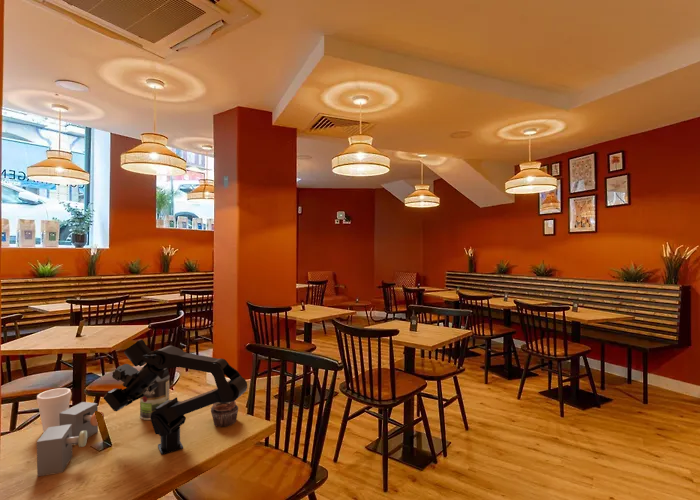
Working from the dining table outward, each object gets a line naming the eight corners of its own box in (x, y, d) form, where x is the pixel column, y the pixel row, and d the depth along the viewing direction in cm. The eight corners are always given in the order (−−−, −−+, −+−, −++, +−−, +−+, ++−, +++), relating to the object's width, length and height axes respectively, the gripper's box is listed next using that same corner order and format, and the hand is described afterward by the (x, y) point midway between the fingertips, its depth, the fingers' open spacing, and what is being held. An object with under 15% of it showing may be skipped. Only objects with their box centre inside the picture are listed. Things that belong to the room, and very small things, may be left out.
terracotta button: (104, 422, 135) (103, 409, 135) (93, 428, 131) (93, 415, 131) (88, 420, 136) (88, 408, 136) (77, 426, 132) (77, 413, 132)
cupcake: (239, 425, 144) (239, 398, 143) (211, 430, 140) (211, 402, 140) (237, 414, 153) (237, 388, 152) (210, 418, 149) (210, 392, 149)
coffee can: (156, 422, 146) (155, 384, 146) (133, 418, 149) (133, 380, 149) (176, 410, 156) (175, 374, 155) (154, 406, 159) (154, 371, 158)
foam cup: (44, 439, 133) (43, 400, 133) (32, 431, 138) (32, 394, 138) (76, 427, 141) (75, 391, 141) (64, 421, 146) (63, 386, 146)
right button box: (97, 431, 139) (97, 403, 138) (75, 445, 130) (75, 414, 129) (82, 430, 140) (82, 401, 139) (59, 443, 131) (59, 413, 130)
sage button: (87, 441, 123) (87, 427, 122) (83, 449, 118) (82, 434, 118) (63, 445, 121) (63, 430, 120) (58, 452, 116) (58, 437, 116)
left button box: (72, 455, 123) (71, 424, 123) (62, 472, 115) (61, 438, 115) (49, 459, 121) (48, 427, 121) (37, 476, 113) (36, 441, 113)
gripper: (150, 349, 139) (122, 378, 142) (108, 367, 121) (77, 400, 123) (170, 373, 138) (142, 402, 141) (131, 394, 120) (100, 427, 122)
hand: (117, 407), depth 132 cm, fingers closed
